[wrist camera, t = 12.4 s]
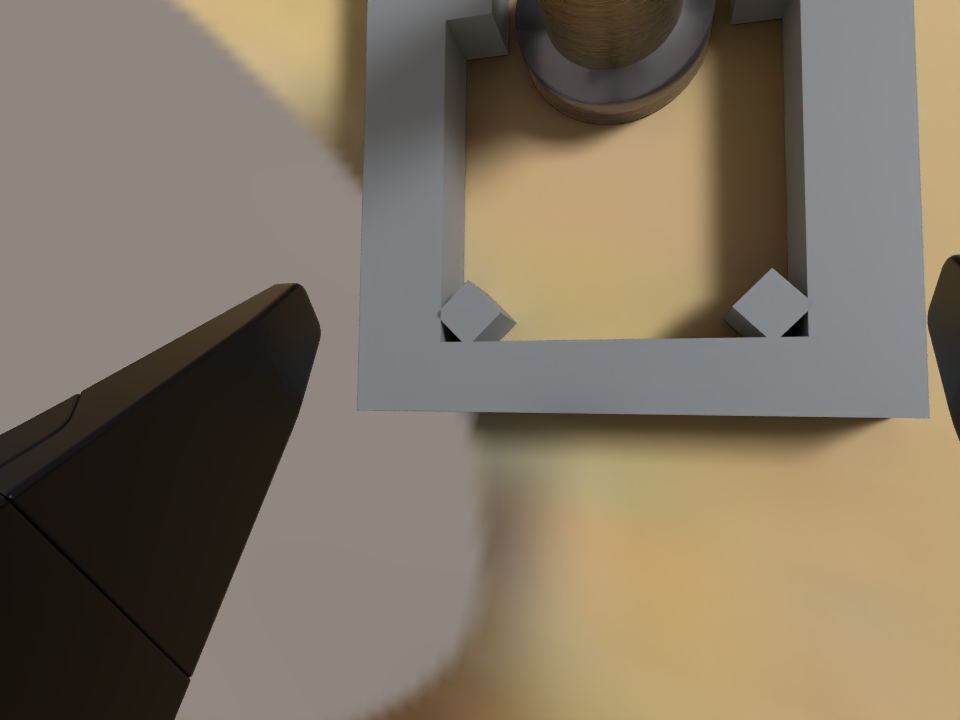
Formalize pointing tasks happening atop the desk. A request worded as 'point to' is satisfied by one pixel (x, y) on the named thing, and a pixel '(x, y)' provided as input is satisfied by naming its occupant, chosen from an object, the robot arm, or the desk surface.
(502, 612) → the desk surface
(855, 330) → the square frame
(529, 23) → the brass peg
